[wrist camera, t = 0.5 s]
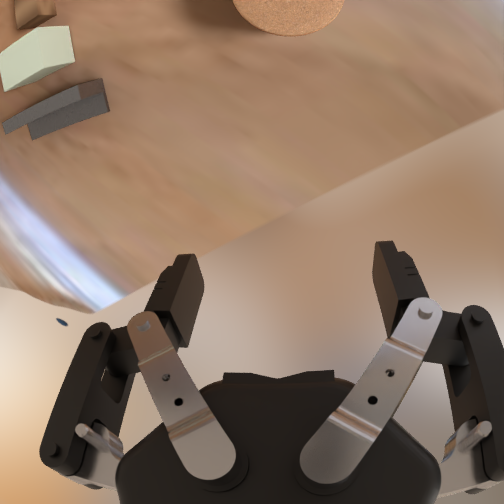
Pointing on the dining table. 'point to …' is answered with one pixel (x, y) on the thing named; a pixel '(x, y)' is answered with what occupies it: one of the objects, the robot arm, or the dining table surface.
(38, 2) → the walnut block
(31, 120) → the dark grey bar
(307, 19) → the lidded jar
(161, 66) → the dining table surface
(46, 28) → the sage block
